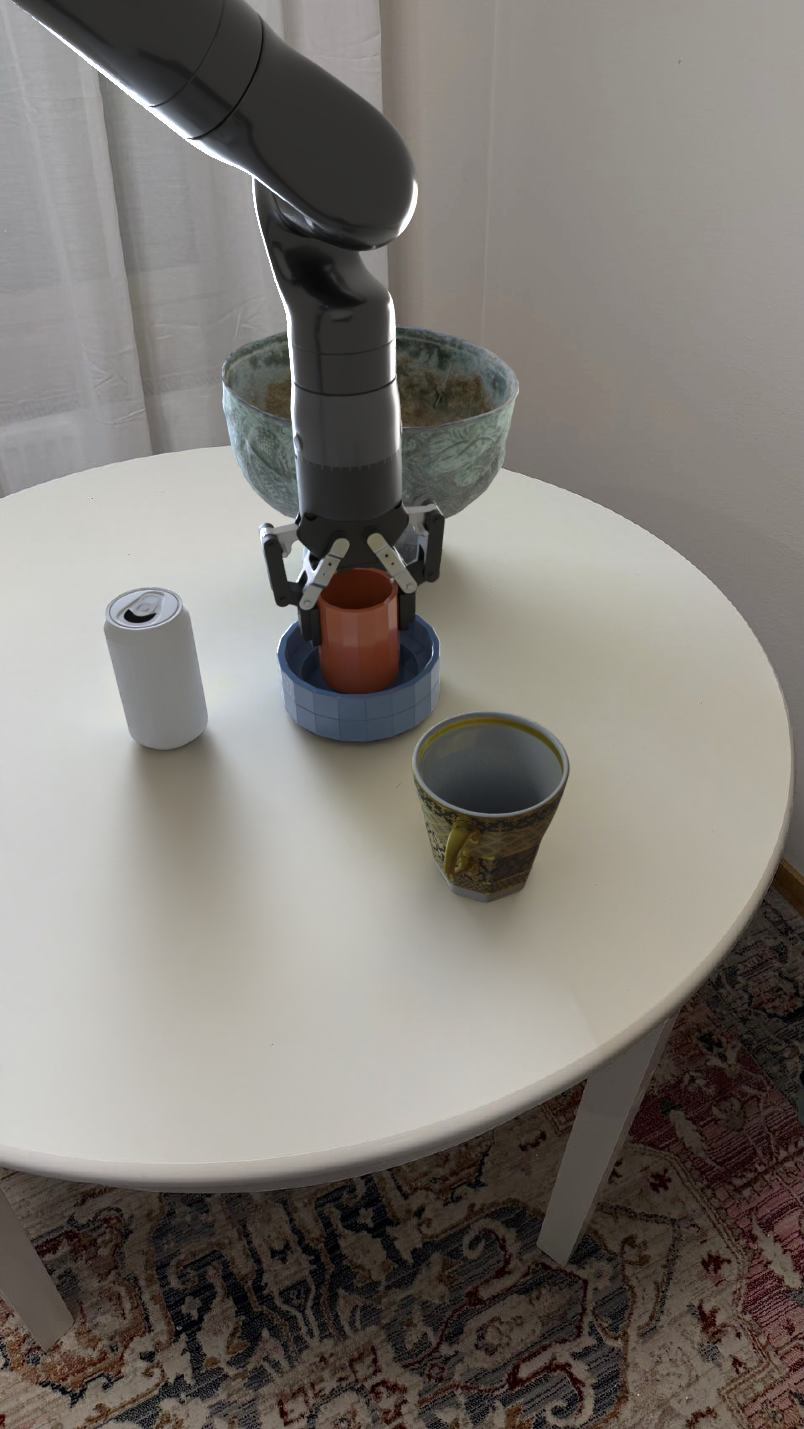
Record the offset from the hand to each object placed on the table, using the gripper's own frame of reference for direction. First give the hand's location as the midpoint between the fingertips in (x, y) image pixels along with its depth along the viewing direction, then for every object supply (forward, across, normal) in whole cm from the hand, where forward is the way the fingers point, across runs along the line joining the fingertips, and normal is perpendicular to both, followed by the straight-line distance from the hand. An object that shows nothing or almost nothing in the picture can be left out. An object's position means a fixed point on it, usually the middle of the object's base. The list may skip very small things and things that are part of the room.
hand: (357, 632), depth 81 cm
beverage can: (+7, +16, 0) cm, 17 cm away
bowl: (+6, 0, 0) cm, 6 cm away
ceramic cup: (+7, -3, +22) cm, 23 cm away
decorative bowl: (+7, -6, -21) cm, 23 cm away
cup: (+4, 0, 0) cm, 4 cm away
